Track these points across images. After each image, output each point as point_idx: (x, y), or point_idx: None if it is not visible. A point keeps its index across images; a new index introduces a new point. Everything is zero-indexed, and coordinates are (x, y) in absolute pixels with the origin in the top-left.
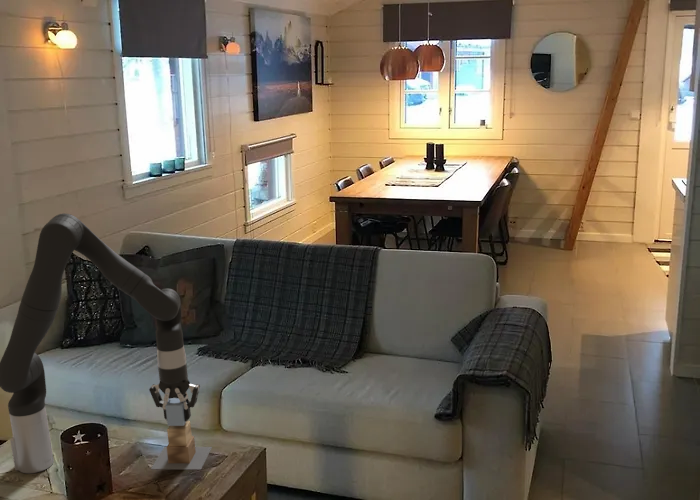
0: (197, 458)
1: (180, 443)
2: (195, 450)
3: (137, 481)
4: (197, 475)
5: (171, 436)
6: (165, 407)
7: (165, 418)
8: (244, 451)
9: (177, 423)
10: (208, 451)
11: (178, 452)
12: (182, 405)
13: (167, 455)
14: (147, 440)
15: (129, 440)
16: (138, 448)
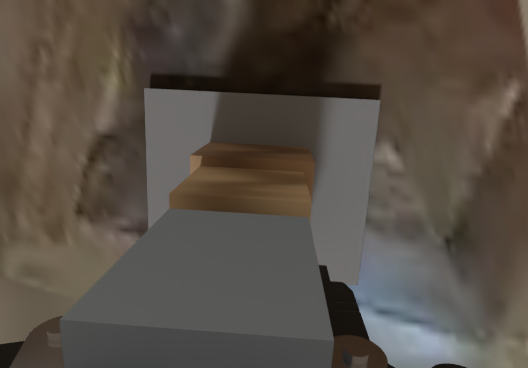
0: None
1: (232, 171)
2: None
3: (423, 15)
4: (158, 60)
5: (282, 184)
6: (343, 354)
7: (340, 285)
8: (19, 242)
9: (216, 218)
10: None
11: (251, 153)
12: (73, 344)
13: (327, 213)
14: (444, 350)
15: (522, 355)
16: (471, 292)
